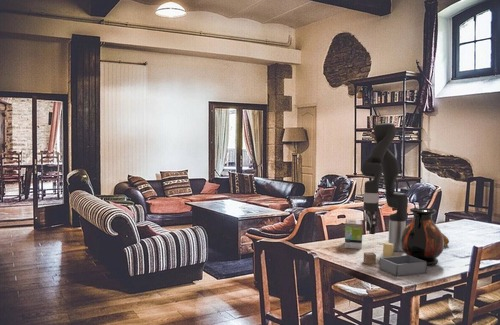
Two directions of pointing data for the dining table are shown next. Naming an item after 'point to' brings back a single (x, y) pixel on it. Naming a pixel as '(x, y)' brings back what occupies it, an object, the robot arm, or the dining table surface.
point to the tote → (403, 265)
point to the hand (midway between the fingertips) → (370, 232)
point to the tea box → (353, 234)
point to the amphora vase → (422, 237)
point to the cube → (369, 258)
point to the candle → (387, 250)
